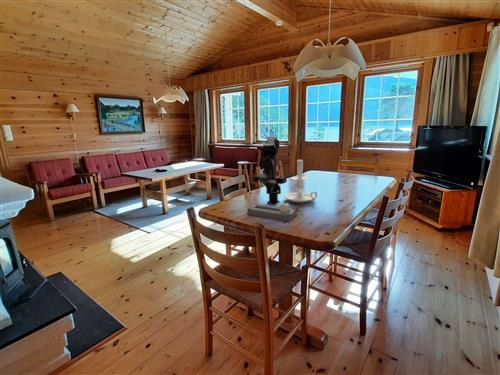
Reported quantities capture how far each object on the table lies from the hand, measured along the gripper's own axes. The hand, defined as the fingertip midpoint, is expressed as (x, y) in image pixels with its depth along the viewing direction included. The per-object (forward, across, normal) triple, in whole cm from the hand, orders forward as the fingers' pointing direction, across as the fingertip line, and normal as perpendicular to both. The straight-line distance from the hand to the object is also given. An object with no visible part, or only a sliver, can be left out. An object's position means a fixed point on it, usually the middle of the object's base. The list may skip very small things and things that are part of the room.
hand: (269, 194), depth 152 cm
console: (+12, +1, 0) cm, 12 cm away
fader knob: (+10, +9, 0) cm, 13 cm away
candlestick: (+12, +7, +32) cm, 35 cm away
